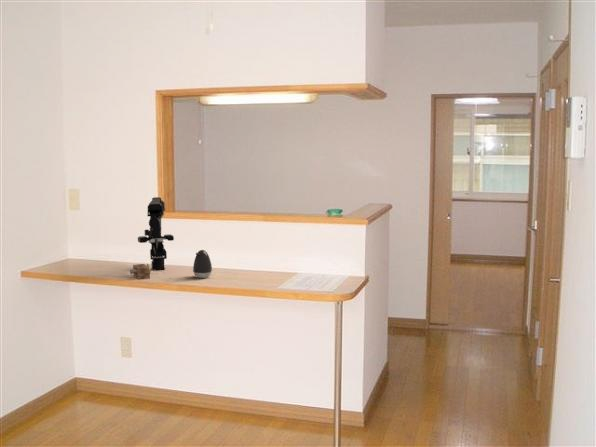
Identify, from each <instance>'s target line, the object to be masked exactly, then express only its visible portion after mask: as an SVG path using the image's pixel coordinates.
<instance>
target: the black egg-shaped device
mask: <svg viewBox="0 0 596 447" xmlns="http://www.w3.org/2000/svg"><path fill="white" fill-rule="evenodd" d="M195 255H196V256H195V258H194V261H193V268H192V272H193V274H194V276H195V278H198V279H207V278H209V277H210V276H211V274H212V271H213V267H212V261H211V258H210V255H209V253H208V251H206V250H204V249H200V250H198V251H197V252H195Z"/></svg>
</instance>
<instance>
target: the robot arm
mask: <svg viewBox="0 0 596 447" xmlns="http://www.w3.org/2000/svg"><path fill="white" fill-rule="evenodd" d="M165 204H166V203H165V201H163V200H162V198H161V197H155V196H154V197H152V198H151V201H150V202H149V203H148V205H147V217H150V218H149V220H148V226H149V229H144V235H142V236H138V237H137V242H138V243H140V244H143V243H144V244H146V243H147V242H148V243H149V244H150V245H151V248H150V249H149V255H150V257H149V258H150V260H151V263H150V264H151V265H150V266H151V269H152V270H153V271H162V270H164V271H165V270H166V268H165V260H166V259H167V258H168V256H167V254H168V253H167V251H166V248H165V245H164V244H163V243H164V240H165V241H166V240H167V241H169V242H170V241H174V240H175V237H174V235H172V234H163V235H162V219H163V217H164V215H165V211H166V205H165Z"/></svg>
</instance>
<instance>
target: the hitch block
mask: <svg viewBox="0 0 596 447" xmlns="http://www.w3.org/2000/svg"><path fill="white" fill-rule="evenodd" d="M133 269H137V273H133V277H135V278H136V279H138V280H147V279H149V280H150V279H151V276H150V275H151V267H148V266H147V264H145V263H140V264H133V265H132V270H133Z"/></svg>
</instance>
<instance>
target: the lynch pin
mask: <svg viewBox="0 0 596 447" xmlns="http://www.w3.org/2000/svg"><path fill="white" fill-rule="evenodd" d="M146 266H148V267H150V266H151V265H150V264H148V263H146ZM150 268H151V267H150ZM133 273H137V269H133V268H132V269H129V274H130V275H132V274H133ZM133 275H134V274H133Z"/></svg>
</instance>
